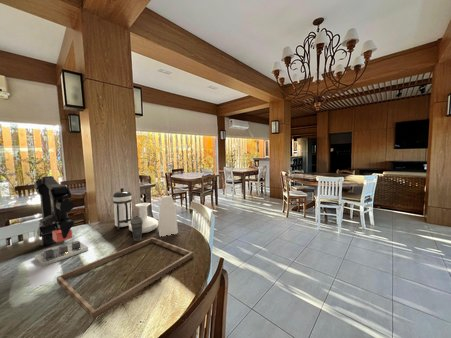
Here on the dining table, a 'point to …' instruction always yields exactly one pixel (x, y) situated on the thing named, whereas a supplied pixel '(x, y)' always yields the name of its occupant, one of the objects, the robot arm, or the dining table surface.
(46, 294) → the dining table surface
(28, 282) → the dining table surface
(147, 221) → the candle holder
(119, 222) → the coffee press
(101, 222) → the dining table surface
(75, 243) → the block
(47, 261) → the panel
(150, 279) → the serving tray rim
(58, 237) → the cap
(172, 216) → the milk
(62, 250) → the grey cube
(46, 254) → the block
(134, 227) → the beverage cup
